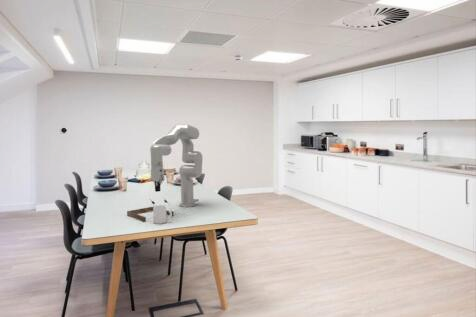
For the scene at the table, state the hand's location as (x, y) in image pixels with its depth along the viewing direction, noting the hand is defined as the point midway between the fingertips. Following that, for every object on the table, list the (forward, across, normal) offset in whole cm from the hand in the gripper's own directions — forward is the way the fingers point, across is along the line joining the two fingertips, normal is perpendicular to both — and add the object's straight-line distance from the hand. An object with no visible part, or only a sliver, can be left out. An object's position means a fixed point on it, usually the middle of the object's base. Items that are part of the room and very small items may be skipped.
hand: (157, 191), depth 244 cm
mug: (+19, -10, +3) cm, 22 cm away
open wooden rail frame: (+19, +11, 0) cm, 22 cm away
